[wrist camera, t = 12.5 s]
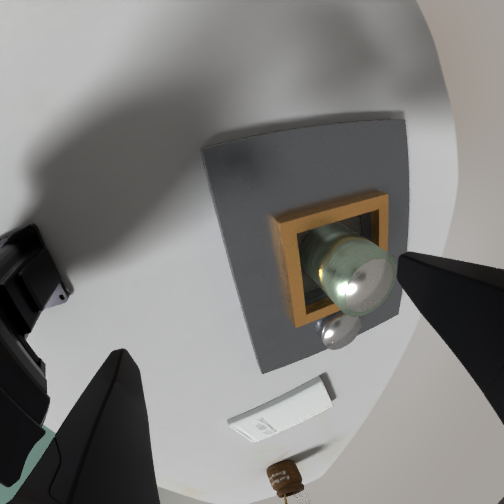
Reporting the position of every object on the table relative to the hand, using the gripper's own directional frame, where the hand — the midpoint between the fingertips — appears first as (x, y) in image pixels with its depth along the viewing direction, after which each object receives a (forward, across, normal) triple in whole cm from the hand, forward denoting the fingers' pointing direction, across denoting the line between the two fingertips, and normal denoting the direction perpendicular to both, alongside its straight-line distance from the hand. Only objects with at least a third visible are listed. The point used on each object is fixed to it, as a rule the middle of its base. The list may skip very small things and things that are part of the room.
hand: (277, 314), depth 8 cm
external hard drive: (+13, -1, +28) cm, 30 cm away
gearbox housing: (+12, -8, +6) cm, 16 cm away
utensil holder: (+12, +2, +51) cm, 52 cm away
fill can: (+12, -8, +6) cm, 16 cm away
